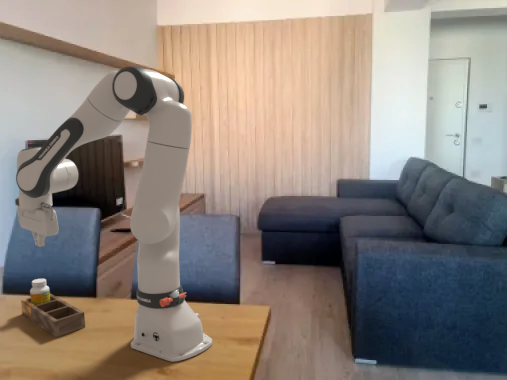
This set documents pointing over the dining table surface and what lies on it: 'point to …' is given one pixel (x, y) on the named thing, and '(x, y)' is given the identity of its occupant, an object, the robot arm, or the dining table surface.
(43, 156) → the robot arm
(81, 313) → the box
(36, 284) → the supplement bottle
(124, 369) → the dining table surface
